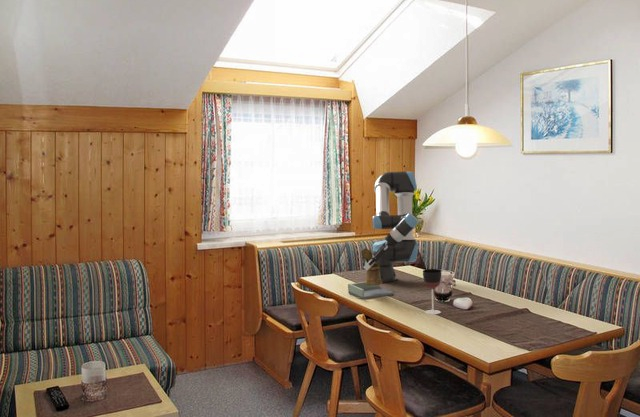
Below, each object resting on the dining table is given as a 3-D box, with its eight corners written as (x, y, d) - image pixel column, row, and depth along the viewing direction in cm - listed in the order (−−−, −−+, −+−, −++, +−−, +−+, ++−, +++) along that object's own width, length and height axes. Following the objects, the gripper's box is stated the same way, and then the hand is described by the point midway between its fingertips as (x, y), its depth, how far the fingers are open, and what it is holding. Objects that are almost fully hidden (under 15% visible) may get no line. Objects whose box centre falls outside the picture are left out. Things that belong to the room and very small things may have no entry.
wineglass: (421, 310, 291) (420, 269, 289) (439, 309, 291) (438, 268, 289) (426, 314, 283) (425, 273, 281) (444, 313, 283) (443, 272, 281)
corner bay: (378, 288, 338) (378, 279, 337) (393, 294, 323) (393, 285, 323) (348, 293, 330) (348, 284, 329) (362, 299, 315) (362, 290, 315)
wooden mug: (373, 279, 333) (372, 247, 331) (385, 283, 321) (384, 250, 319) (358, 281, 330) (357, 249, 328) (370, 286, 317) (369, 252, 316)
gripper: (399, 246, 309) (369, 276, 313) (399, 239, 332) (372, 267, 336) (388, 235, 310) (359, 266, 314) (389, 230, 332) (362, 258, 336)
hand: (365, 266), depth 325 cm, fingers closed on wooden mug, 10 cm apart
